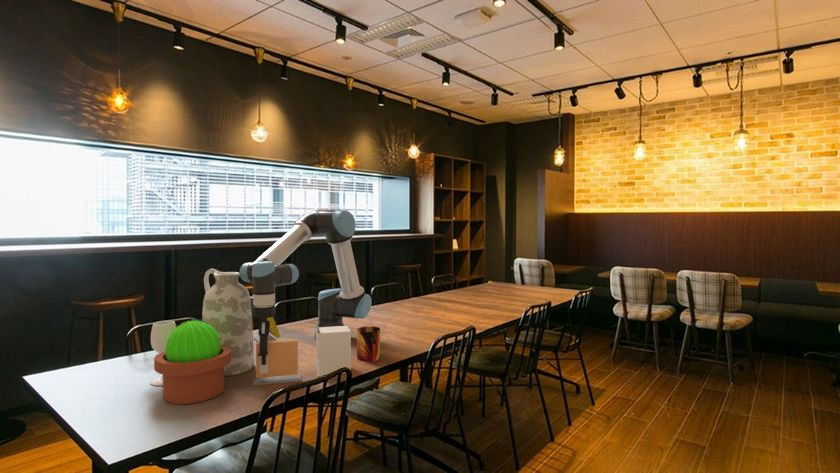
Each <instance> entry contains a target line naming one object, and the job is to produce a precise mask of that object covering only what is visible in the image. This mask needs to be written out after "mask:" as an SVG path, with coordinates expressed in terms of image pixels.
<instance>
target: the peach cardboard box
mask: <svg viewBox="0 0 840 473" xmlns="http://www.w3.org/2000/svg"><path fill="white" fill-rule="evenodd" d="M255 350H256V351H255V354H256V355H255V359H256V360H255V367H256V368H255V371H256V373H255V379H262V378H273V377H284V376H295V375H299V369H298V368H299V339H298V338H293V339H292V338H290V339H278V340H277V339H276V340H275V341H267V352H268V373H265V374H260V356H258V354H259V353H260V341H259V342H257V341H256V344H255Z"/></svg>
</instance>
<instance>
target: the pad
mask: <svg viewBox="0 0 840 473" xmlns="http://www.w3.org/2000/svg"><path fill="white" fill-rule="evenodd" d="M301 377H302V375H301V374H296V375H285V376H273V377H262V378H254V380H253V387H255V386H264V385H274V384H275V385H277V384H286V383H296V382H297V383H298V382H302V378H301Z"/></svg>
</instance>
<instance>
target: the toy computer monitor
mask: <svg viewBox="0 0 840 473" xmlns="http://www.w3.org/2000/svg"><path fill="white" fill-rule="evenodd" d="M268 321H270V327H269V335H268V341H275V340H277V339H279V338H281V335H280V332H279V329H278V326H277V324H276V321H275V319H274V317H271V318H268ZM275 338H276V339H275ZM253 340H255V341H256V342H259V341H260V336H259V335H258V336H255V337H254V336H253Z"/></svg>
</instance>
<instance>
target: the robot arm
mask: <svg viewBox="0 0 840 473" xmlns="http://www.w3.org/2000/svg"><path fill="white" fill-rule="evenodd" d="M356 226H357V225H356V220H355V217H354V215H353V213H351V212H350V211H349V210H346V209H337V208H336V209H315V210H312V211H310V212H308V213H307V214H304V215H302V217H300V218H298V220H296V221H295V222H294V223H293V224H292V228H291V229H289V231H287V232H286V233H285V234H284V235H283V236H282V237H281V238H280V239H278V240H277V241H276V242H275V243H274V244H273V245H272V246H270V247H269V248H268V249H267V250H266V251H264V252H263V253H262V254H261V255H260V256H259V257H258V258H257V259H256V260H254V261H253V262H252V261H251V262H245V263H243V264H242V265H241V266H240V269H239V273H240V276H239V277H240V278H241V280H242V281H244V282H246V283H251V284H252V285H251V286H252V296H250V300H252V305H253V306H252V307H251V310H252V318H254V319H258V320H259V321H258V322H257V328H258V332H257V333H258V334H257V335H258V336H260V353H259V354H258V356H260V374H265V373H268V352H267V341H268V335H270V333H269V327H270V321H268V318H271V317H273V318H274V317H275V315H276V306H275V304H276V287H281V286H286V285H287V286H288V285H291V284H294V283H296V282H297V280H298V278H299V276H300V271H299V268H298V267H297V266H296V265H295V264H293V263H285V264H282V263H283V262H284V261H285V260H286V259H287V258H288V257H289V256H290V255H291V254H292V253H294V252H295V251H296V250H297V249H298V247H300V246H301V245H302V244H303V243H304V242H306V241H307V242H308V241H309V240H310V239H311V238H314V237H317V236H318V237H319V236H321V237H324V236H325V240H326V243H327V244H328V245H330V246H331V250H332V254H333V258H334V263H335V267H336V272H337V276H338V280H339V285H340V288H331V289H330V288H329V289H325V290H321V291H320V292H318V297H317V298H318V299H317V304H318V305H317V308H318V310H317V313H318V315H317V316H318V318H317V320H318V321H317V325H316V326H318V327H334V326H345V323H344V321H343V318H348V319H355V320H357V319H361V320H362V319H365V318H366V317H368V315H369V313H370V311H371V309H372V301H373V300H372V297H371V295H370V294H367V293H366V292H365V289H364V287H363V286H362V285H360V281H359V276H358V271H357V267H356V261H355V258H354V253H353V249H352V243H351V240H352V239H353V237H354V236H353V235H354V234H355V232H356ZM314 339H316V329H315V330H314Z"/></svg>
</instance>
